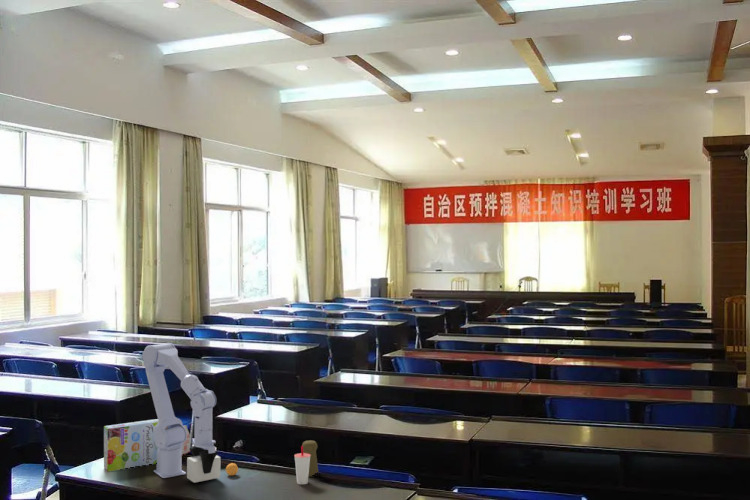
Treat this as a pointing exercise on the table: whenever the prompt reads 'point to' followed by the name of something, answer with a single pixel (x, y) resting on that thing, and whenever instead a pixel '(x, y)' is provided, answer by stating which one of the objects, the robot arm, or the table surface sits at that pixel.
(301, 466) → the cup
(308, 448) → the cork
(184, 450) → the tea bag
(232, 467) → the ball
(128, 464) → the snack box
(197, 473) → the cover
